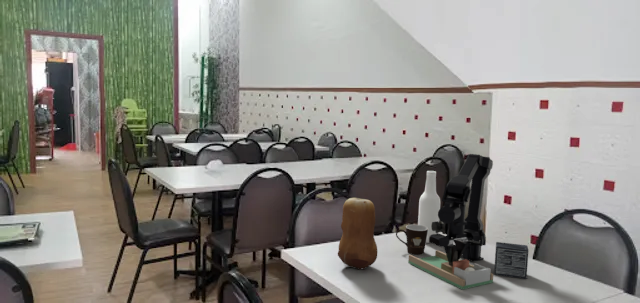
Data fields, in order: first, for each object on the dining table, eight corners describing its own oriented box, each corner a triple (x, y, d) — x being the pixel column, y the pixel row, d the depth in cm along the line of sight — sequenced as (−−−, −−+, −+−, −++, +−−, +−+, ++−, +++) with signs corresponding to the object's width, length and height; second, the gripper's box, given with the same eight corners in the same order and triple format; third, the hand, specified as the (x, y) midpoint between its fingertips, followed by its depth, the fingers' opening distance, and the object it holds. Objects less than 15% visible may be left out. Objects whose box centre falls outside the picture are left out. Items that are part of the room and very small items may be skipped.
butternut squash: (369, 259, 181) (371, 194, 178) (382, 272, 168) (385, 202, 165) (333, 261, 178) (335, 194, 175) (343, 275, 165) (346, 203, 162)
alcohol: (417, 242, 204) (421, 172, 201) (416, 236, 213) (420, 169, 210) (438, 244, 203) (443, 173, 199) (437, 238, 212) (441, 170, 208)
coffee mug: (429, 251, 193) (431, 227, 192) (422, 257, 186) (423, 231, 185) (402, 245, 199) (403, 222, 198) (394, 251, 192) (395, 226, 191)
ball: (480, 274, 160) (474, 280, 163) (474, 264, 163) (468, 270, 165) (472, 275, 158) (466, 282, 161) (465, 265, 161) (459, 272, 163)
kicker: (452, 266, 173) (453, 247, 172) (468, 273, 166) (469, 253, 166) (439, 268, 170) (441, 249, 169) (455, 276, 163) (456, 256, 163)
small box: (525, 273, 172) (527, 244, 171) (526, 279, 166) (529, 250, 165) (494, 269, 175) (496, 240, 174) (494, 275, 169) (496, 246, 168)
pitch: (437, 257, 186) (437, 245, 185) (492, 282, 162) (493, 268, 162) (408, 262, 179) (408, 249, 178) (462, 289, 156) (463, 274, 155)
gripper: (459, 210, 178) (456, 251, 180) (419, 214, 169) (417, 258, 171) (482, 217, 168) (479, 260, 170) (442, 222, 159) (439, 268, 161)
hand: (453, 261), depth 168 cm, fingers closed on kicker, 3 cm apart
